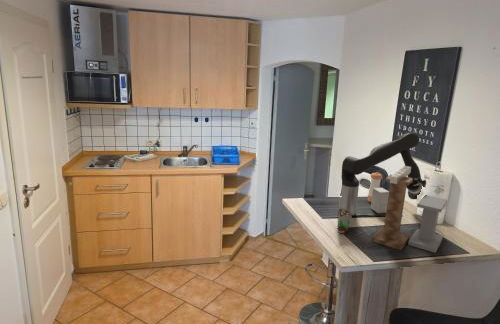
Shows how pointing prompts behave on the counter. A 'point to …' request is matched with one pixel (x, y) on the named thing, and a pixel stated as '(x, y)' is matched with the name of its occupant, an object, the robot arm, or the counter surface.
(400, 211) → the tall stand
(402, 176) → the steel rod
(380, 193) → the small box
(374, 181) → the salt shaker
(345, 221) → the food container
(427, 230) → the stand
